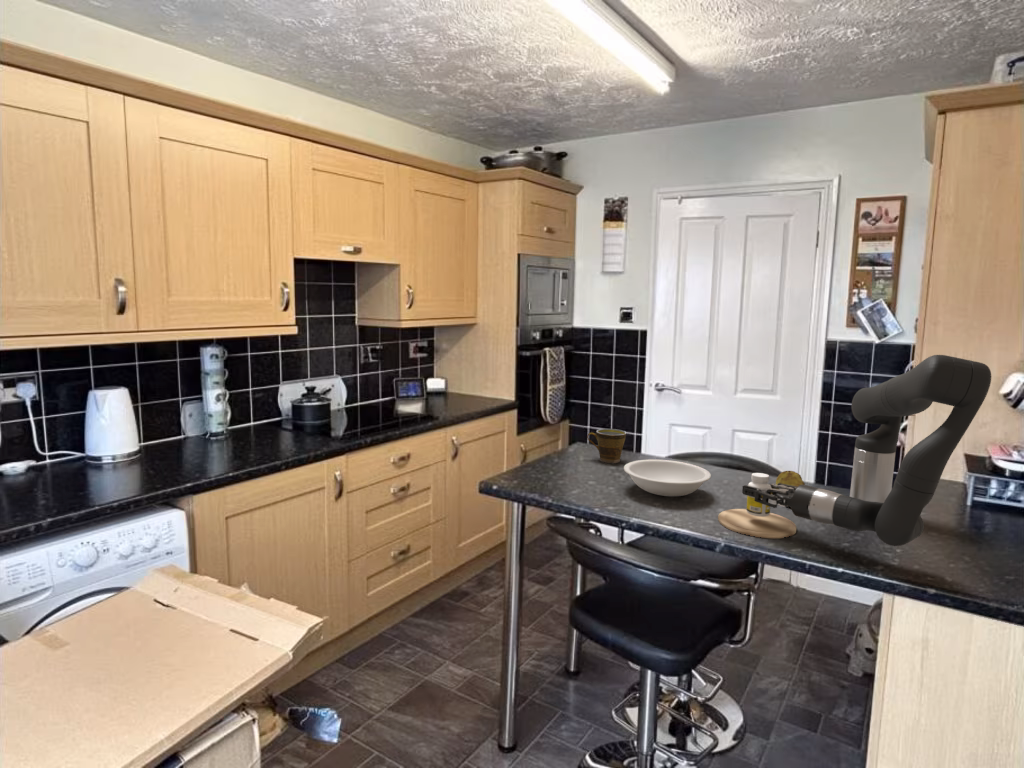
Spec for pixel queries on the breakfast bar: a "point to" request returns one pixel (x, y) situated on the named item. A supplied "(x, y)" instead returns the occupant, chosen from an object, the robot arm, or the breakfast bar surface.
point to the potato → (789, 478)
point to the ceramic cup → (609, 444)
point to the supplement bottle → (752, 506)
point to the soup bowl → (667, 476)
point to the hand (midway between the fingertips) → (749, 487)
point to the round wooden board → (757, 524)
